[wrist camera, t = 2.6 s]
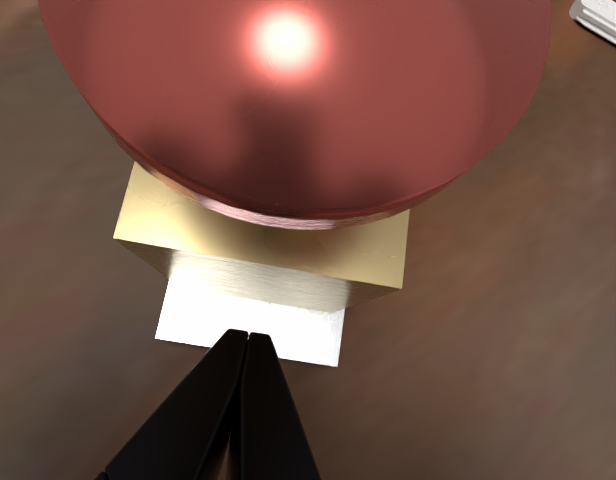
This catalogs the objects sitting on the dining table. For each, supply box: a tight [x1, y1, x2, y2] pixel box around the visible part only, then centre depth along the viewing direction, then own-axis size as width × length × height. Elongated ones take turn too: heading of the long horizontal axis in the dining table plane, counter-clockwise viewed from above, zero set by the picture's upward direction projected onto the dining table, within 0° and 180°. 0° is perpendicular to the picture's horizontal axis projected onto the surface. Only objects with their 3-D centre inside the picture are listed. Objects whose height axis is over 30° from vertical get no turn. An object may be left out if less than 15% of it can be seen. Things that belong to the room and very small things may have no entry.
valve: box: [38, 0, 552, 313], centre depth 11 cm, size 8×6×13 cm
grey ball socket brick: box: [155, 279, 345, 367], centre depth 15 cm, size 22×10×10 cm, turn 171°
